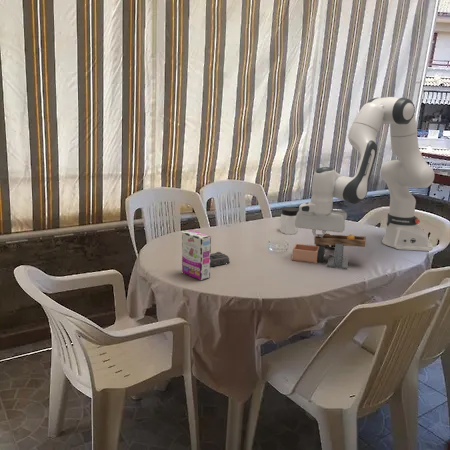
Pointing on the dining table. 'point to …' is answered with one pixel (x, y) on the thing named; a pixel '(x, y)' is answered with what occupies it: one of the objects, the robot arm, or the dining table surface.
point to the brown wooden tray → (340, 240)
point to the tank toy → (218, 259)
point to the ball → (350, 236)
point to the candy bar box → (196, 254)
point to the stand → (334, 257)
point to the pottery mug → (326, 245)
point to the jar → (288, 220)
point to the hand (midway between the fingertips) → (318, 240)
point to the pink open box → (305, 253)
